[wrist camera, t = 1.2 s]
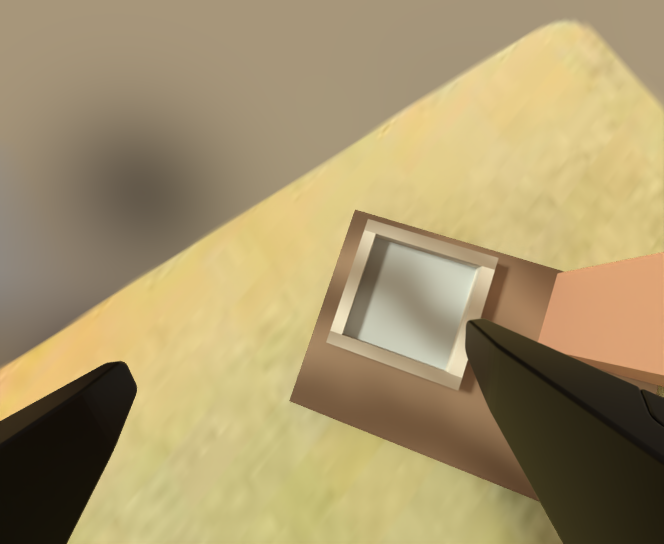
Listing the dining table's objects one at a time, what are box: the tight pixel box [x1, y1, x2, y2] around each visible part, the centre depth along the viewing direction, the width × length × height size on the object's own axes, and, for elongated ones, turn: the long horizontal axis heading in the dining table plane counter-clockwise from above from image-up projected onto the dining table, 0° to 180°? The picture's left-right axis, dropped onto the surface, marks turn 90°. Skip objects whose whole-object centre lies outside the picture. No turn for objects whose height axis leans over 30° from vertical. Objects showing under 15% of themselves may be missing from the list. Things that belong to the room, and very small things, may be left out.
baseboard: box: [290, 210, 658, 501], centre depth 21 cm, size 14×21×2 cm, turn 71°
